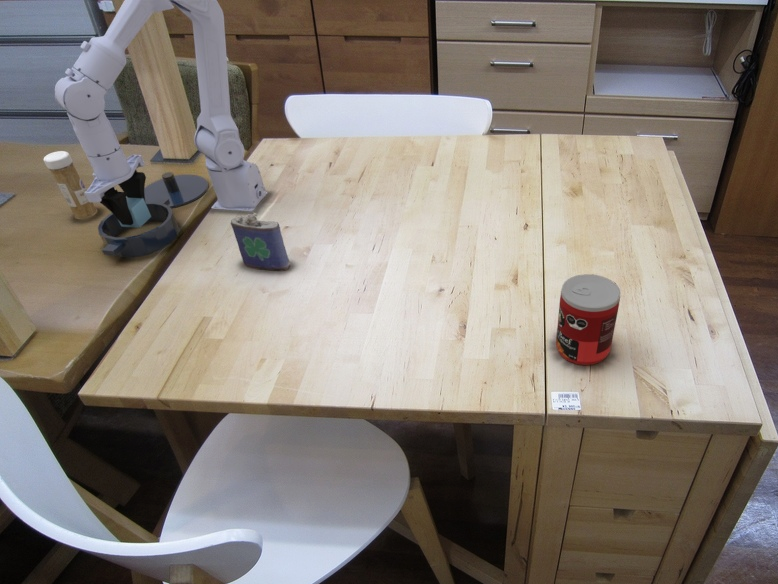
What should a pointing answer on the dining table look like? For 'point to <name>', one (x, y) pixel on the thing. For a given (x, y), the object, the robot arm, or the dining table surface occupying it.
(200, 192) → the lid
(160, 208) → the pot
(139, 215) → the blue cube
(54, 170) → the sprinkles bottle
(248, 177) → the robot arm
